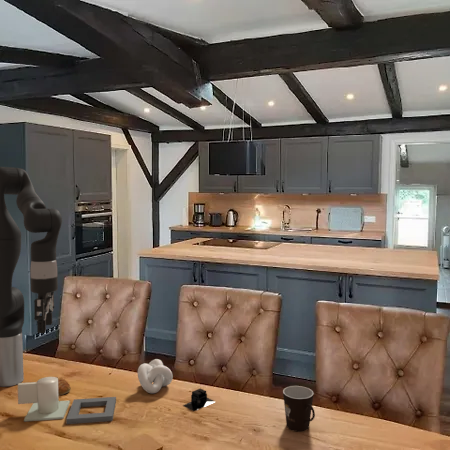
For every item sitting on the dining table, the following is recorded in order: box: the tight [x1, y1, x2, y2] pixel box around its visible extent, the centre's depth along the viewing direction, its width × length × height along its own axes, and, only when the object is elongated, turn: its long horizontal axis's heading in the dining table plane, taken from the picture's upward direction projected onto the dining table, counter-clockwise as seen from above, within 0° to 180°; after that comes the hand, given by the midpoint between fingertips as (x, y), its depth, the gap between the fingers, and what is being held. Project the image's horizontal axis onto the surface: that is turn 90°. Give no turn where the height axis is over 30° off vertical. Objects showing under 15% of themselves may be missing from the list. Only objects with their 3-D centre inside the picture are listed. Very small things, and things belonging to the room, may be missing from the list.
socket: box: [65, 396, 117, 425], centre depth 143 cm, size 13×13×2 cm
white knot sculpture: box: [137, 358, 173, 394], centre depth 159 cm, size 11×12×9 cm
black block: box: [182, 388, 216, 412], centre depth 148 cm, size 12×7×5 cm, turn 135°
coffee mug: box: [282, 385, 316, 433], centre depth 132 cm, size 12×9×10 cm
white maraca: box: [17, 376, 59, 414], centre depth 142 cm, size 12×6×9 cm, turn 99°
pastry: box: [55, 376, 71, 396], centre depth 158 cm, size 9×7×4 cm
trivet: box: [23, 400, 71, 422], centre depth 143 cm, size 11×11×1 cm
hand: (45, 328), depth 141 cm, fingers open, 8 cm apart
